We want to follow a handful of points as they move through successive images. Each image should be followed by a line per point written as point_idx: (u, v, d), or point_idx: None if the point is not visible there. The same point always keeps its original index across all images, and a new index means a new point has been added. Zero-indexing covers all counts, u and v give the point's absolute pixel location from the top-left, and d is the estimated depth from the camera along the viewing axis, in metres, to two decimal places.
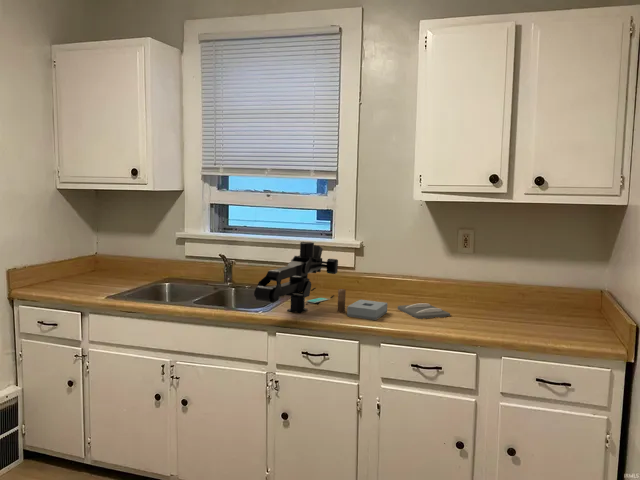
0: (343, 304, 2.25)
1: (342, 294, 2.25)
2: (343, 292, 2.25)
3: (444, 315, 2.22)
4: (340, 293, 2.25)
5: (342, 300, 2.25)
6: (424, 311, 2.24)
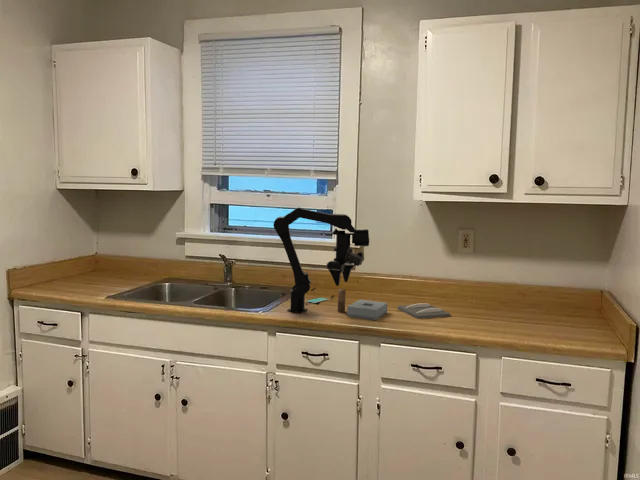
0: (343, 304, 2.25)
1: (342, 294, 2.25)
2: (343, 292, 2.25)
3: (444, 315, 2.22)
4: (340, 293, 2.25)
5: (342, 300, 2.25)
6: (424, 311, 2.24)
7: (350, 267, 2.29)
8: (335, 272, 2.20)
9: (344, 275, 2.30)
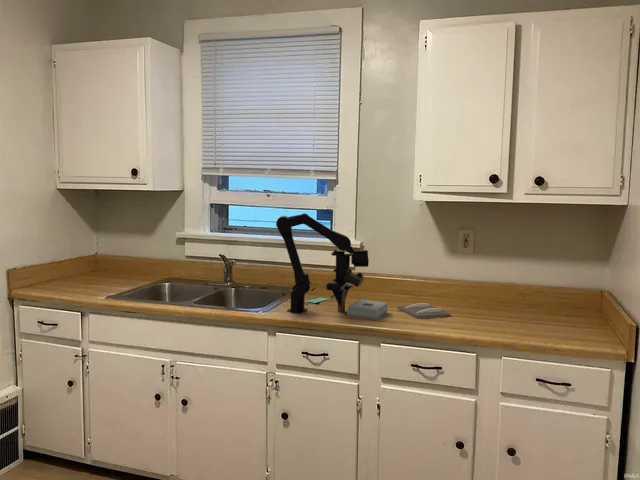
0: (343, 304, 2.25)
1: None
2: None
3: (444, 315, 2.22)
4: None
5: (342, 300, 2.25)
6: (424, 311, 2.24)
7: (347, 288, 2.27)
8: (337, 292, 2.24)
9: None
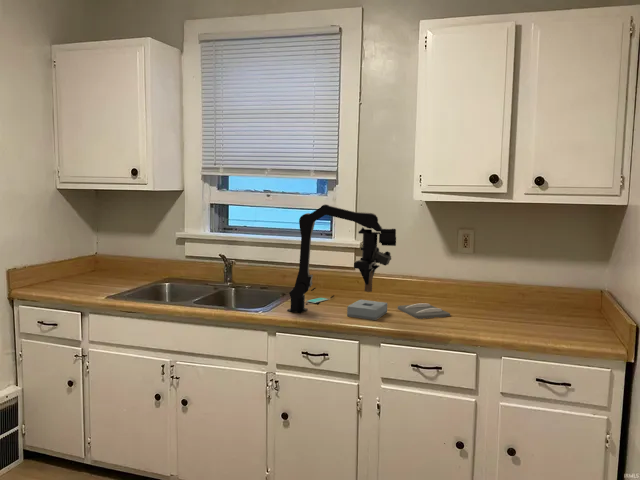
0: (370, 284, 2.21)
1: None
2: None
3: (444, 315, 2.22)
4: None
5: (369, 279, 2.20)
6: (424, 311, 2.24)
7: (374, 268, 2.23)
8: (365, 271, 2.19)
9: None
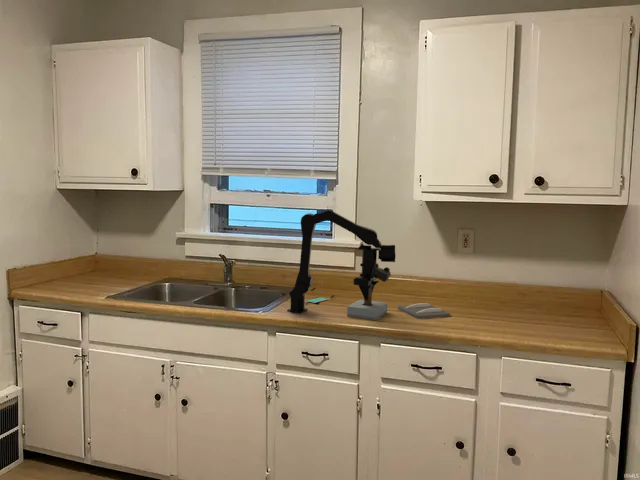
0: (370, 300, 2.21)
1: None
2: None
3: (444, 315, 2.22)
4: None
5: None
6: (424, 311, 2.24)
7: (373, 283, 2.23)
8: (364, 287, 2.20)
9: None
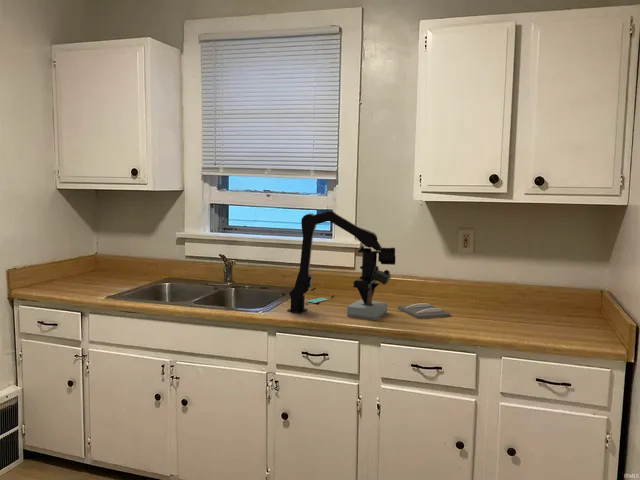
0: (370, 305, 2.22)
1: (369, 294, 2.21)
2: (370, 292, 2.21)
3: (444, 315, 2.22)
4: None
5: (369, 300, 2.21)
6: (424, 311, 2.24)
7: (374, 286, 2.24)
8: (363, 290, 2.19)
9: None
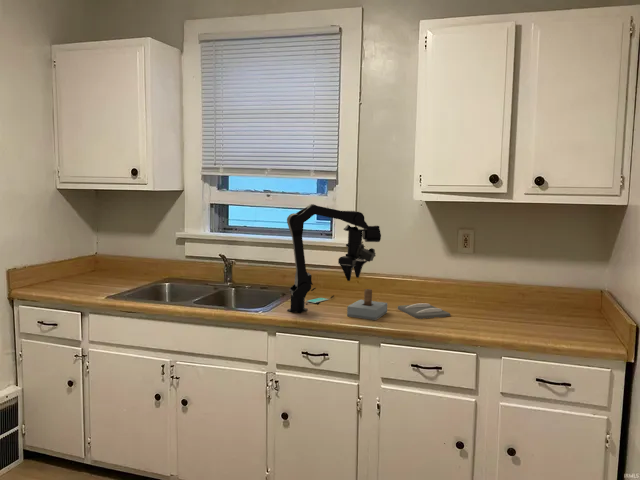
0: (369, 305, 2.22)
1: (369, 294, 2.21)
2: (370, 292, 2.21)
3: (444, 315, 2.22)
4: (367, 293, 2.21)
5: (368, 300, 2.21)
6: (424, 311, 2.24)
7: (362, 263, 2.33)
8: (346, 267, 2.24)
9: (356, 271, 2.34)
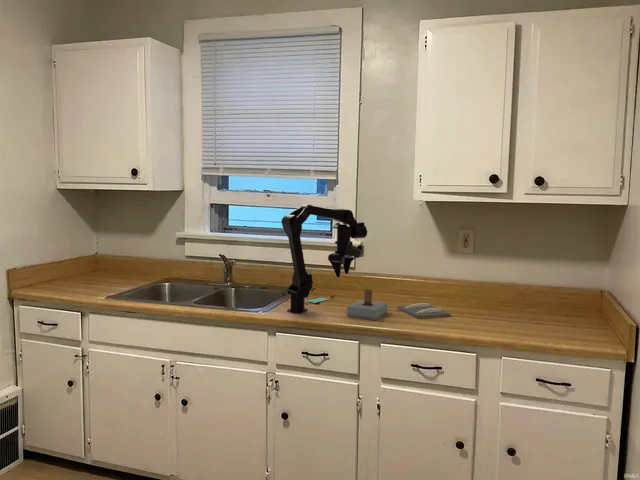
0: (369, 305, 2.22)
1: (368, 294, 2.21)
2: (369, 292, 2.21)
3: (444, 315, 2.22)
4: (366, 293, 2.21)
5: (368, 300, 2.21)
6: (424, 311, 2.24)
7: (350, 259, 2.39)
8: (336, 264, 2.31)
9: (345, 267, 2.40)
